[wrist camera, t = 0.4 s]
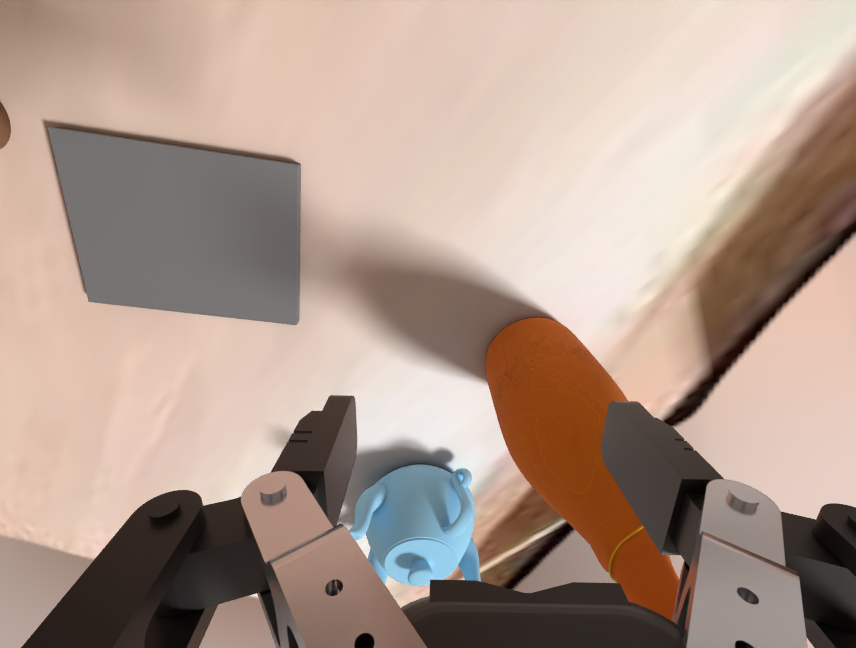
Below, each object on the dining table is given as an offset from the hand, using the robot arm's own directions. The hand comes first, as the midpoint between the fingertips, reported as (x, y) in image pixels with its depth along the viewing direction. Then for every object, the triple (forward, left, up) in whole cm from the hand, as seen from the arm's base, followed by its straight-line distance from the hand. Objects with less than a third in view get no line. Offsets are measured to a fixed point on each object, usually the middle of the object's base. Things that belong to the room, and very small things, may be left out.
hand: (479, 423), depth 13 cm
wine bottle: (+11, +11, -25) cm, 29 cm away
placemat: (+3, -21, -25) cm, 32 cm away
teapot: (+33, +2, -25) cm, 41 cm away
